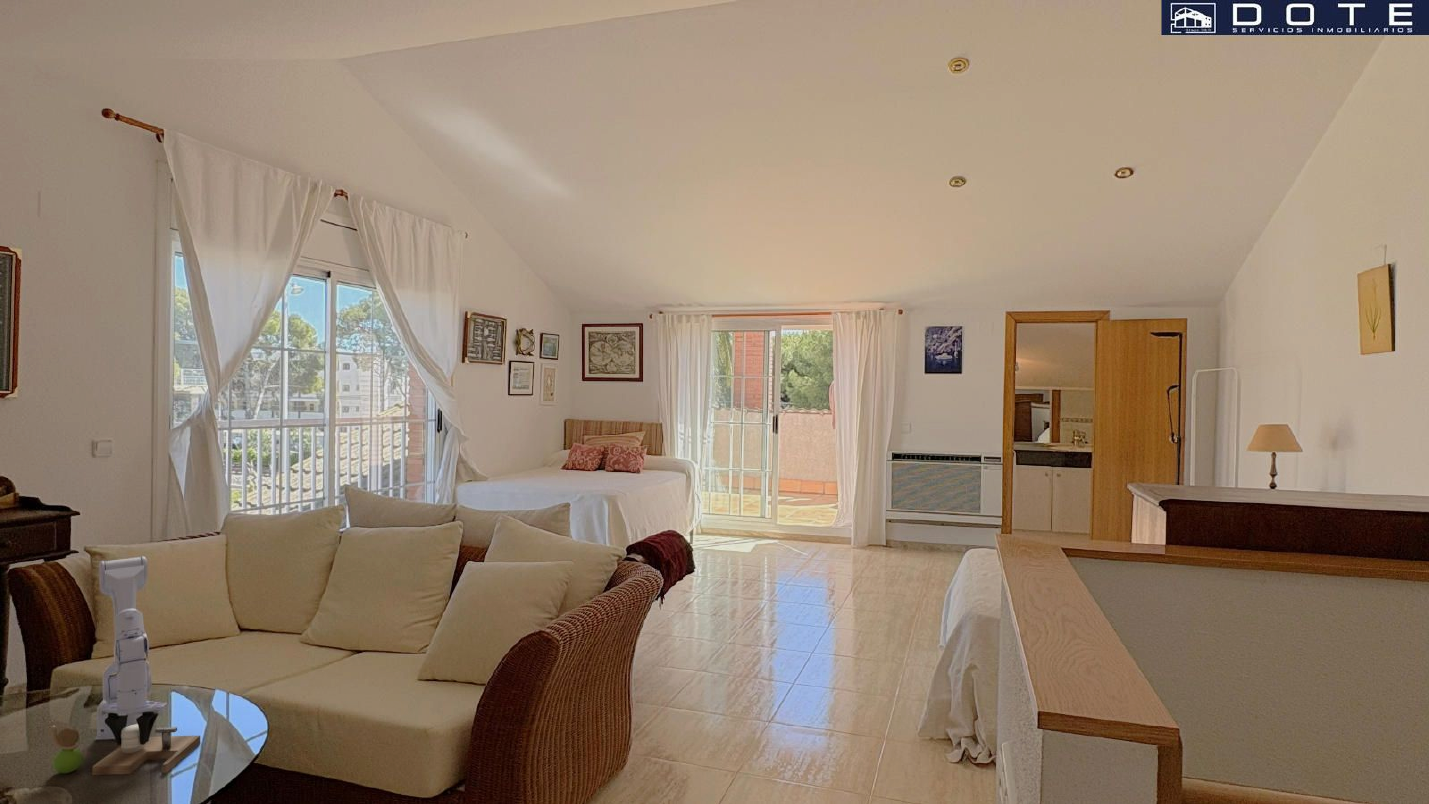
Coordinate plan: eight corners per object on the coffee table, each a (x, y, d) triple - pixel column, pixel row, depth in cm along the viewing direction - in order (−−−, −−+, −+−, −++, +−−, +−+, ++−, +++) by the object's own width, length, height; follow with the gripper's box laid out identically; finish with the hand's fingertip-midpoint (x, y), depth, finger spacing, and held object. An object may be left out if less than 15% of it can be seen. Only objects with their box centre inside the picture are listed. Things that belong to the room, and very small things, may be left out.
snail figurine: (59, 766, 185) (58, 716, 184) (88, 765, 185) (87, 715, 184) (42, 778, 179) (40, 726, 178) (72, 777, 180) (70, 726, 179)
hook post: (154, 750, 189) (154, 730, 189) (159, 746, 191) (158, 726, 190) (174, 749, 189) (173, 729, 189) (178, 745, 191) (178, 726, 191)
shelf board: (92, 775, 181) (92, 766, 181) (131, 745, 195) (131, 737, 195) (166, 772, 183) (166, 764, 182) (200, 743, 196) (200, 735, 196)
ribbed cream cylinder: (116, 753, 187) (116, 733, 186) (129, 744, 191) (128, 724, 191) (137, 753, 187) (137, 732, 187) (149, 743, 192) (149, 723, 191)
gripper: (87, 695, 184) (89, 752, 184) (154, 693, 185) (155, 750, 186) (107, 682, 191) (109, 737, 191) (171, 681, 192) (172, 736, 193)
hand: (133, 743), depth 189 cm, fingers closed on ribbed cream cylinder, 5 cm apart
